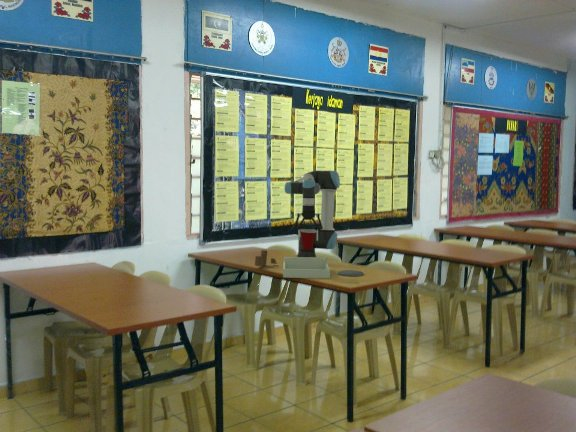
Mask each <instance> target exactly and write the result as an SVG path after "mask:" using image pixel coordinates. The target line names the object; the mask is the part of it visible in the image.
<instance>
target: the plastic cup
mask: <svg viewBox="0 0 576 432" xmlns="http://www.w3.org/2000/svg"><path fill="white" fill-rule="evenodd" d="M299 230H300V233H301V240H302V246H303V249H305V250H311V249H312V248H313V243H314V238H315V234H316V232H317V230H316V229H315V230H310V229H309V228H299Z"/></svg>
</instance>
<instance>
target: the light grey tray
mask: <svg viewBox="0 0 576 432" xmlns="http://www.w3.org/2000/svg"><path fill="white" fill-rule="evenodd" d="M282 278H290V279H291V278H294V279H297V278H298V279H299V278H300V279H301V278H302V279H303V278H304V279H330V278H331V269H330V266H329V264H328V257H317V256H316V257H297V256H283V267H282Z"/></svg>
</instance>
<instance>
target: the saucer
mask: <svg viewBox="0 0 576 432" xmlns="http://www.w3.org/2000/svg"><path fill="white" fill-rule="evenodd" d="M364 274H365V273H364V272H363V271H361V270H350V269H346V270H345V269H344V270H339V271H337V275H339V276H343V277H353V278H354V277H363V276H364Z"/></svg>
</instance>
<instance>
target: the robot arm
mask: <svg viewBox="0 0 576 432" xmlns="http://www.w3.org/2000/svg"><path fill="white" fill-rule="evenodd" d="M340 180H341V179H340V175H339V173H338V171H336V170H319V169H317V170H312V171H308V172H307V173H304V174H302V176H301V177H299V178H298V179H296V180H295V181H286V182H285V184H284V192H285V194H289V195H302V210H301V211H302V212H301V213H299V212H298V213H297V215H296V219H295V223H294V225H293V229H294V230H296V233H295V234H296V236H297V237H298V238H297V239H298V240H297V241H298V244H297V245H298V247H297V248H298V252H297V255H296V257H317V254H316V249H321V250H322V249H323V250H333V249H335V247H336V245H337V241H338V233H337V232H336V229H335V228H334V213H335V212H334V210H335V193H336V192H338V189H339V188H340V185H341V181H340ZM320 192H321V207H320V208H321V209H320V213H315V209H316V208H315V205H316V203H315V202H316V200H315V199H316V195H317V194H319V193H320ZM300 217H302V219H301V221H300V222H299V219H300ZM314 217H316V218H317V221H318V223H319V224H318V223H317V222H316V220H315V218H314ZM305 221H312V222H313V224H314V226H315V227H316V229H310V230H315V231H317V232H316V234H315V238H314V243H313V248H312V249H311V250H305V249H303V246H302V240H301V233H300V229H301V226H302V224H303V223H304V222H305Z"/></svg>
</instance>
